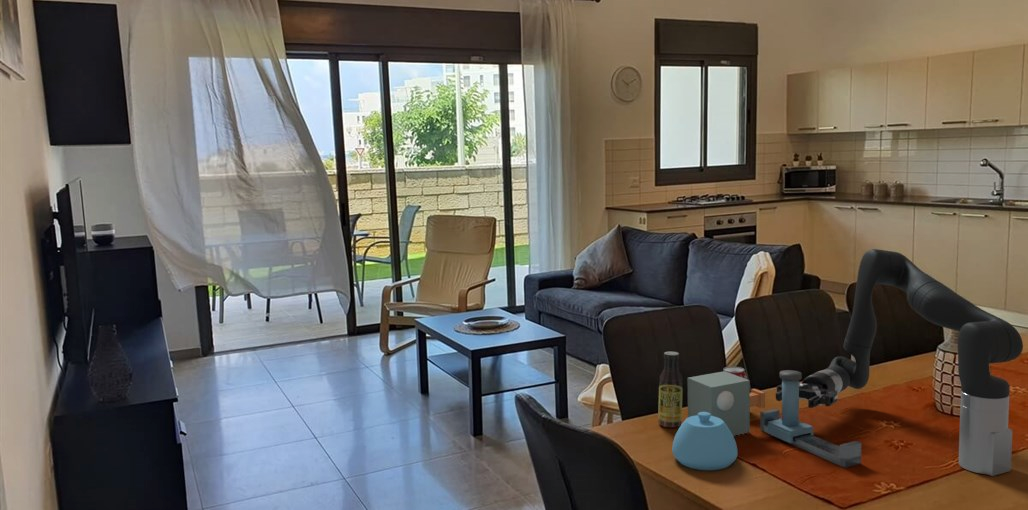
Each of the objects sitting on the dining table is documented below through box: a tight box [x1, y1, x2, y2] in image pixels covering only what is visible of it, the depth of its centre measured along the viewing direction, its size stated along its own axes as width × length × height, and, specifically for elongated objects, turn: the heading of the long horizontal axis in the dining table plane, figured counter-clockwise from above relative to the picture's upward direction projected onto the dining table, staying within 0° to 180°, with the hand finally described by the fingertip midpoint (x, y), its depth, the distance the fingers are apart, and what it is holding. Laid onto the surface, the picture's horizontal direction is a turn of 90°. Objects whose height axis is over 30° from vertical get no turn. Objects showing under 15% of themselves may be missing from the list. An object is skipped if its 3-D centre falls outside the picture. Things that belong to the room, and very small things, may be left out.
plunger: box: [750, 388, 766, 409], centre depth 203 cm, size 4×8×4 cm, turn 113°
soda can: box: [723, 365, 748, 380], centre depth 219 cm, size 7×7×12 cm
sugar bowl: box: [671, 412, 738, 471], centre depth 185 cm, size 15×15×12 cm
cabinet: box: [686, 370, 751, 437], centre depth 203 cm, size 11×12×14 cm
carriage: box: [767, 369, 814, 444], centre depth 196 cm, size 8×7×16 cm
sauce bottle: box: [657, 351, 684, 429], centre depth 209 cm, size 7×6×20 cm
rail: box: [759, 408, 862, 469], centre depth 191 cm, size 28×5×5 cm, turn 23°
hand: (793, 400), depth 197 cm, fingers open, 8 cm apart
